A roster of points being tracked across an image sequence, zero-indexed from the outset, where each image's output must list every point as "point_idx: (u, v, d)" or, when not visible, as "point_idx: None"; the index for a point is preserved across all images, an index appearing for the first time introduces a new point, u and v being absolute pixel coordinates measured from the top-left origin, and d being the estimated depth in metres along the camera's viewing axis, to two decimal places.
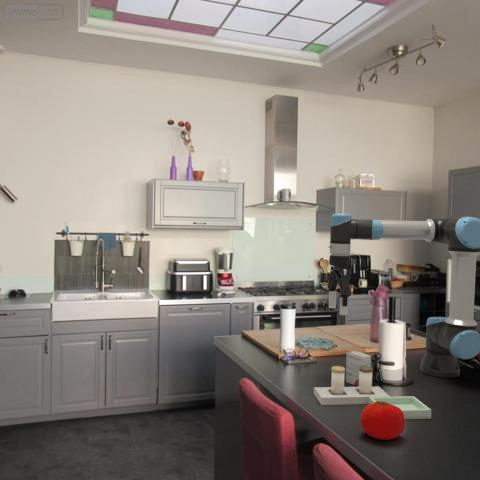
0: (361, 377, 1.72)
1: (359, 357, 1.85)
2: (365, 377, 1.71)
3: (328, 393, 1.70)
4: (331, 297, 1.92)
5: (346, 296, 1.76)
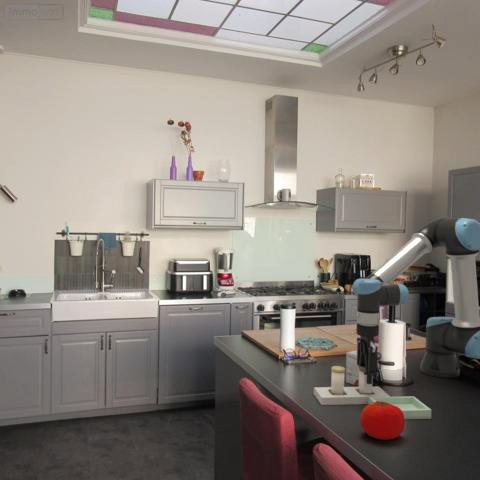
0: (361, 377, 1.72)
1: None
2: None
3: (328, 393, 1.70)
4: None
5: (371, 374, 1.68)
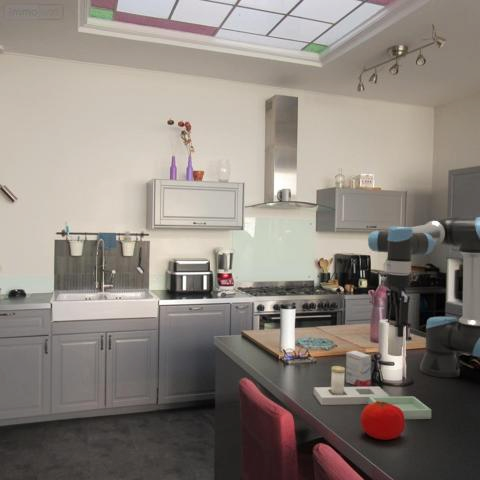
0: (391, 331, 1.62)
1: (359, 357, 1.85)
2: None
3: (328, 393, 1.70)
4: None
5: (402, 326, 1.58)
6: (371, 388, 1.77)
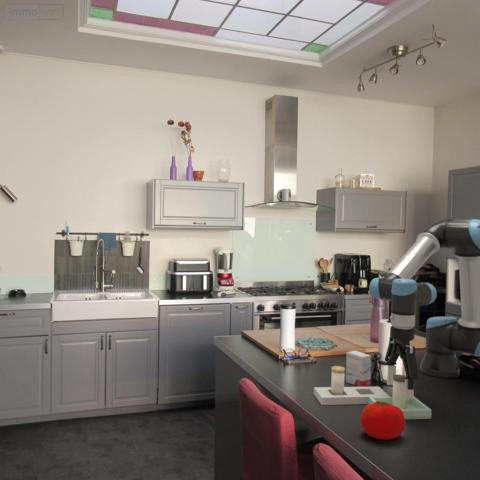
0: (395, 387, 1.61)
1: (359, 357, 1.85)
2: (400, 387, 1.60)
3: (328, 393, 1.70)
4: (390, 372, 1.68)
5: (413, 379, 1.53)
6: (371, 388, 1.77)
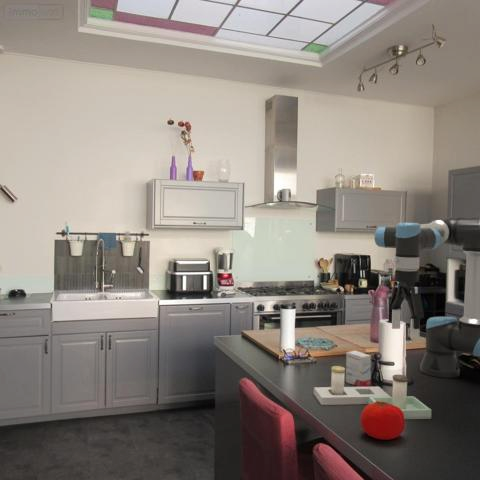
0: (395, 387, 1.61)
1: (359, 357, 1.85)
2: (400, 387, 1.60)
3: (328, 393, 1.70)
4: (395, 316, 1.70)
5: (419, 318, 1.54)
6: (371, 388, 1.77)
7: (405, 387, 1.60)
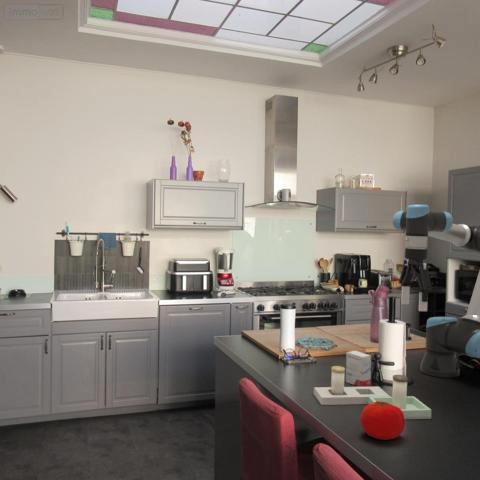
0: (395, 387, 1.61)
1: (359, 357, 1.85)
2: (400, 387, 1.60)
3: (328, 393, 1.70)
4: (404, 292, 1.83)
5: (427, 291, 1.67)
6: (371, 388, 1.77)
7: (405, 387, 1.60)
